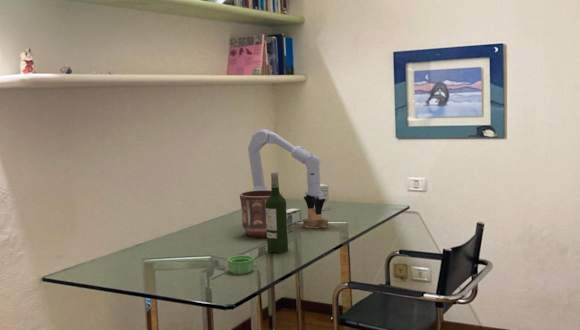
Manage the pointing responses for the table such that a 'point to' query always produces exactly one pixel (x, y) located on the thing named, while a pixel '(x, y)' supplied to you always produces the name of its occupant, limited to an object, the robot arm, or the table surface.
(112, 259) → the table surface
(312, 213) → the terracotta cube
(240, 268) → the ramekin
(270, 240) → the wine bottle
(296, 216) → the syrup box
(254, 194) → the pottery
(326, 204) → the supplement box
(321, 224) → the walnut block
